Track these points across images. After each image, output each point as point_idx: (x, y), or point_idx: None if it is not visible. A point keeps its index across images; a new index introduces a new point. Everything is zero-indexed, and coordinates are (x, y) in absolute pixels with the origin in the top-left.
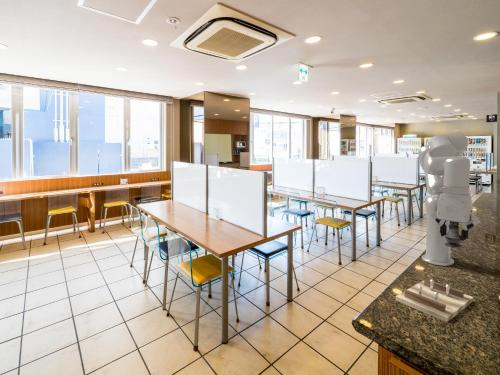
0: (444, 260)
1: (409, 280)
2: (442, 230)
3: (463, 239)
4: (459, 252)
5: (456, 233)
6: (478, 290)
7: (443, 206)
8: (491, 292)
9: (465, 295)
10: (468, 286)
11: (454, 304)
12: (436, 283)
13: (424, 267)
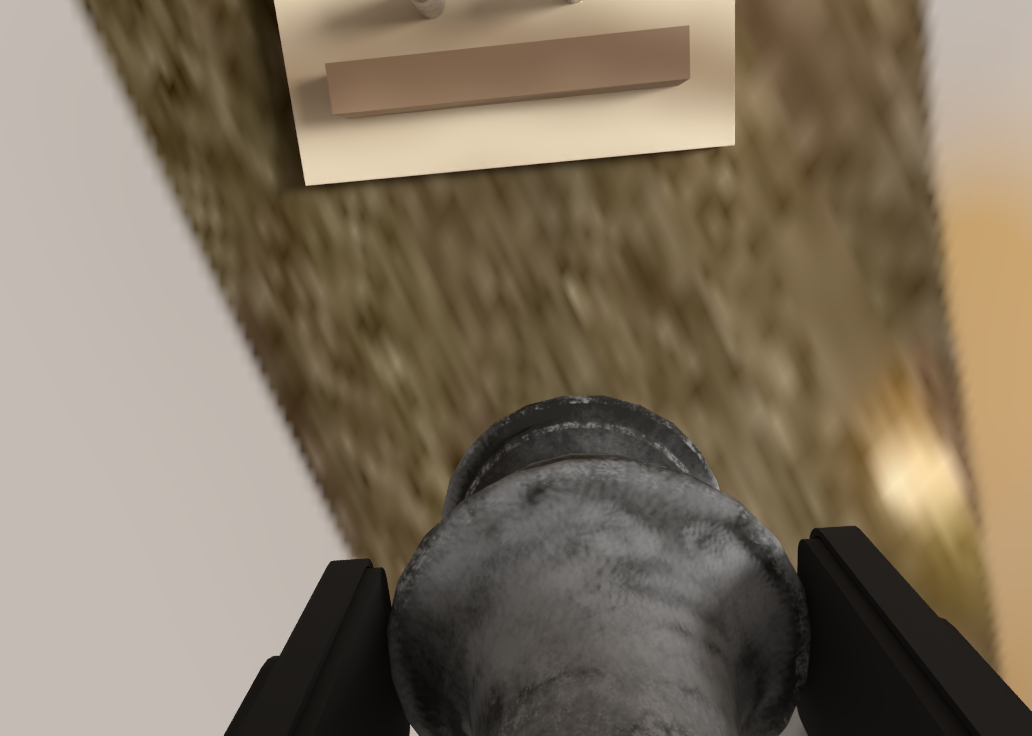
0: (806, 734)
1: (850, 106)
2: (906, 637)
3: (331, 588)
4: None
5: (493, 684)
6: (395, 423)
7: None
8: (329, 466)
9: (354, 161)
10: (471, 433)
11: None
12: (569, 57)
13: (885, 519)
